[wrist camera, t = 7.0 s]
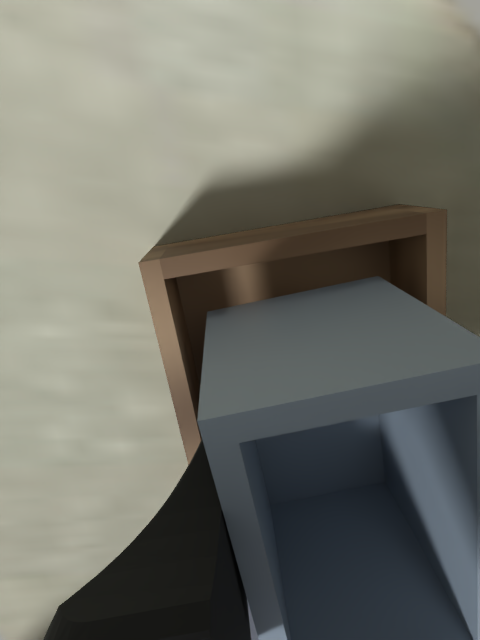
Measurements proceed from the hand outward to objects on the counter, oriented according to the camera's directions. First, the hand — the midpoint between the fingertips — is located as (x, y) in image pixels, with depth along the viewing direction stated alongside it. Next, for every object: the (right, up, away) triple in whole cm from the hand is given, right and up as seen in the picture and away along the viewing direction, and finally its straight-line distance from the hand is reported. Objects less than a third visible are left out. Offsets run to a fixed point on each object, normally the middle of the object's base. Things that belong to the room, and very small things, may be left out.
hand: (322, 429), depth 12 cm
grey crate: (0, 0, +2) cm, 2 cm away
